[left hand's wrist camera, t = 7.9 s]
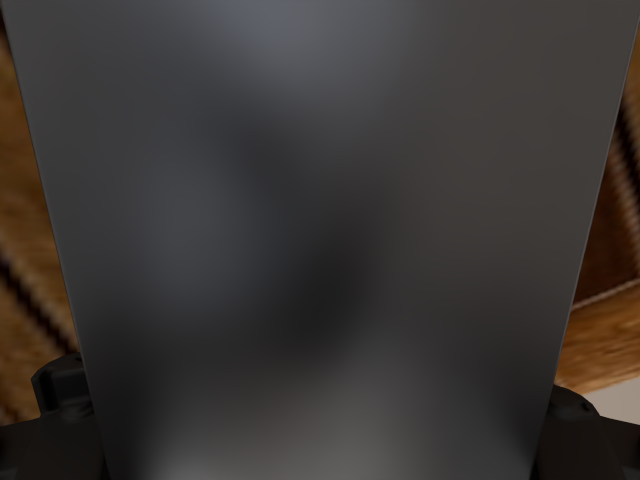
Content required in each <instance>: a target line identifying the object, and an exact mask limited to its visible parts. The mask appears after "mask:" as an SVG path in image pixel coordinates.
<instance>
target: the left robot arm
mask: <svg viewBox="0 0 640 480" xmlns="http://www.w3.org/2000/svg"><path fill="white" fill-rule="evenodd" d="M31 382H32V385H33V389H34V392H35V396H36V399H37V402H38V406H39V409H40V413H41V416H40V418H36V419H33V420H29V421H24V422H20V423H15V424H11V425H6V426H2V427H0V480H110V478H109V474H108V470H107V465H106V461H105V457H104V453H103V448H102V444H101V440H100V435H99V431H98V427H97V422H96V418H95V414H94V409H93V405H92V401H91V396H90V392H89V388H88V383H87V379H86V375H85V370H84V366H83V362H82V357H81V353H80V352H77V353H73V354H69V355H65V356H62V357H60V358H58V359H55V360H53V361H51V362H49V363H47V364H46V365H45V366H43V367H42V368H40V369H39V370H38V371H37V372H36V373H35V374H34V376H33V377H32V378H31ZM530 480H640V425H637V424H633V423H628V422H624V421H619V420H614V419H610V418H606V417H603V416H600V415H599V413H598V412H597V410H596V409H595V407H594V406H593V404H591V403H590V402H589V401H588V400H586V399H585V398H584V397H583V396H581V395H579V394H577V393H575V392H573V391H571V390H569V389H567V388H563V387H560V386H556V385H554V383H553V387H552V391H551V396H550V400H549V404H548V408H547V412H546V416H545V421H544V425H543V429H542V433H541V437H540V442H539V446H538V450H537V454H536V458H535V462H534V467H533V471H532V475H531V479H530Z"/></svg>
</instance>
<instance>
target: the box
mask: <svg viewBox="0 0 640 480" xmlns="http://www.w3.org/2000/svg"><path fill="white" fill-rule="evenodd" d="M0 7H1V11H2V15H3V20H4V24H5V28H6V33H7V37H8V41H9V46H10V50H11V54H12V59H13V63H14V67H15V72H16V76H17V80H18V85H19V89H20V93H21V98H22V102H23V106H24V111H25V115H26V119H27V124H28V128H29V132H30V137H31V141H32V145H33V150H34V154H35V158H36V163H37V167H38V171H39V176H40V180H41V184H42V189H43V193H44V197H45V202H46V206H47V210H48V215H49V219H50V223H51V228H52V232H53V236H54V240H55V245H56V249H57V253H58V258H59V262H60V266H61V271H62V275H63V279H64V284H65V288H66V292H67V297H68V301H69V305H70V310H71V314H72V318H73V323H74V327H75V331H76V336H77V340H78V344H79V349H80V353H81V357H82V362H83V366H84V370H85V375H86V379H87V383H88V388H89V392H90V396H91V401H92V405H93V409H94V414H95V418H96V422H97V427H98V431H99V435H100V440H101V444H102V448H103V453H104V457H105V461H106V465H107V470H108V474H109V478H110V480H530V479H531V475H532V471H533V467H534V462H535V458H536V454H537V450H538V446H539V442H540V437H541V433H542V429H543V425H544V421H545V416H546V412H547V408H548V404H549V400H550V396H551V391H552V387H553V383H554V379H555V375H556V370H557V366H558V362H559V358H560V354H561V350H562V345H563V341H564V337H565V333H566V329H567V324H568V320H569V316H570V312H571V308H572V304H573V299H574V295H575V291H576V287H577V283H578V278H579V274H580V270H581V266H582V262H583V258H584V253H585V249H586V245H587V241H588V237H589V232H590V228H591V224H592V220H593V216H594V212H595V207H596V203H597V199H598V195H599V191H600V186H601V182H602V178H603V174H604V170H605V166H606V161H607V157H608V153H609V149H610V145H611V140H612V136H613V132H614V128H615V124H616V120H617V115H618V111H619V107H620V103H621V99H622V94H623V90H624V86H625V82H626V78H627V74H628V69H629V65H630V61H631V57H632V53H633V48H634V44H635V40H636V36H637V32H638V28H639V23H640V0H0Z"/></svg>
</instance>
